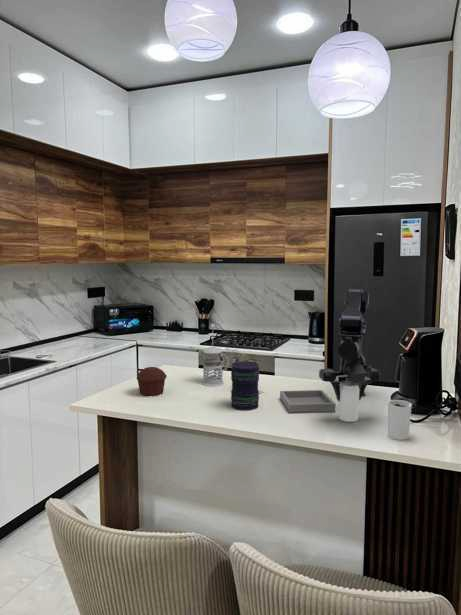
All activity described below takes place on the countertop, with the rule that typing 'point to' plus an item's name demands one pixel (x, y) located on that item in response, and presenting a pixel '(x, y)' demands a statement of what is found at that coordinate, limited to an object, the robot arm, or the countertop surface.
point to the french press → (213, 379)
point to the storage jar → (245, 385)
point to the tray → (307, 401)
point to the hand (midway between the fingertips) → (348, 400)
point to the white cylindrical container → (399, 419)
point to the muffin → (151, 381)
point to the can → (348, 401)
